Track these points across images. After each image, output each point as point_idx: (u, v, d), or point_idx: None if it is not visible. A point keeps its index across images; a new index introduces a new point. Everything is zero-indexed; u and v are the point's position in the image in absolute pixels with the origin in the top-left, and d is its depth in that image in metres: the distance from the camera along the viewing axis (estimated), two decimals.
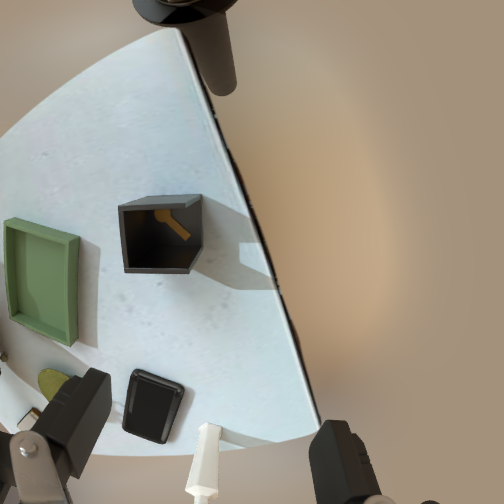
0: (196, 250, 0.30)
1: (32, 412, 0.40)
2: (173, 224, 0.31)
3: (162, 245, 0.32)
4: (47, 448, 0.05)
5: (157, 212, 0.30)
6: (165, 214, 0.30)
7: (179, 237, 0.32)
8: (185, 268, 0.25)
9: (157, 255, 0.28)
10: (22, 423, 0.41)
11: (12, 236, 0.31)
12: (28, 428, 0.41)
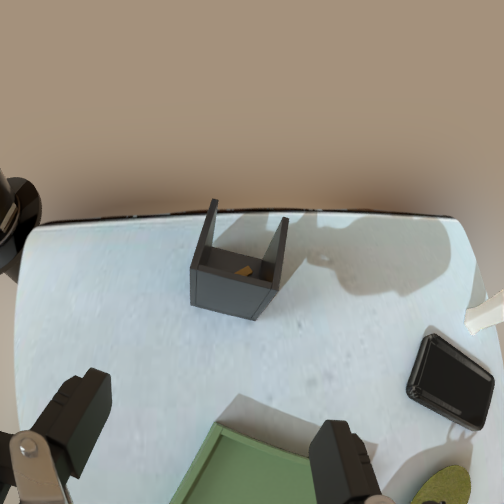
0: (265, 253, 0.27)
1: None
2: None
3: None
4: (47, 448, 0.05)
5: None
6: None
7: None
8: (282, 220, 0.23)
9: None
10: None
11: None
12: None
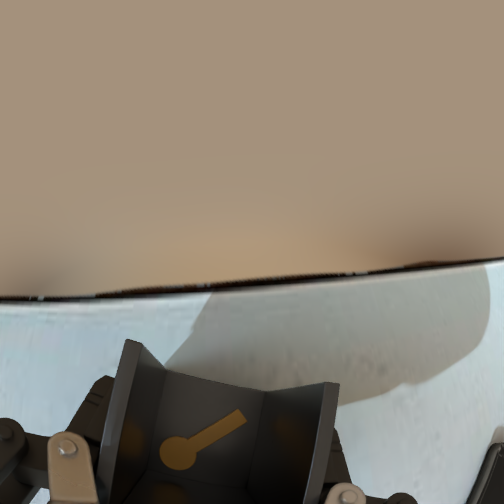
0: (273, 396, 0.12)
1: None
2: (206, 437, 0.12)
3: (248, 471, 0.12)
4: (87, 448, 0.05)
5: (172, 462, 0.11)
6: (180, 447, 0.12)
7: (238, 433, 0.13)
8: (322, 392, 0.07)
9: (268, 479, 0.09)
10: None
11: None
12: None
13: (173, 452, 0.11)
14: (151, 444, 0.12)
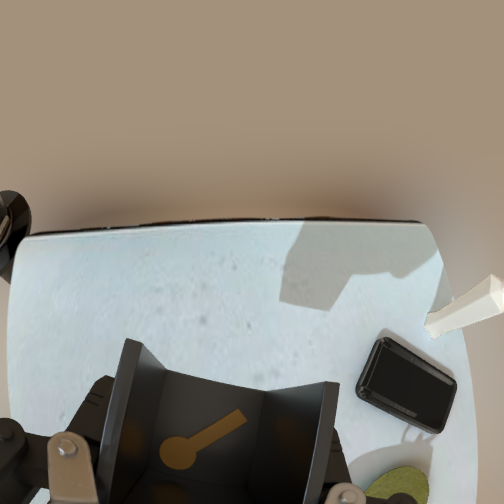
0: (273, 396, 0.12)
1: None
2: (206, 437, 0.12)
3: (248, 470, 0.12)
4: (87, 448, 0.05)
5: (172, 462, 0.11)
6: (180, 447, 0.12)
7: (238, 433, 0.13)
8: (322, 391, 0.07)
9: (268, 479, 0.09)
10: None
11: None
12: None
13: (173, 452, 0.11)
14: (151, 444, 0.12)
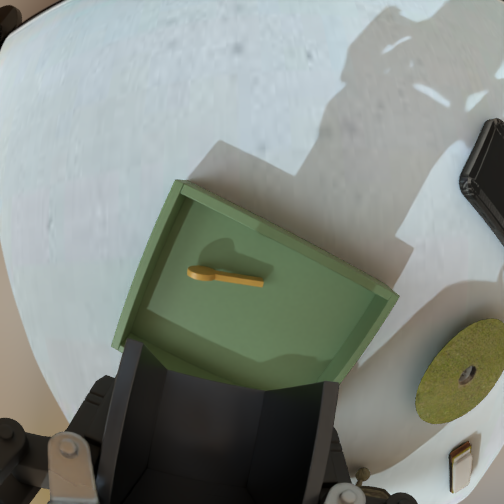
0: (272, 395, 0.12)
1: (455, 458, 0.23)
2: (229, 274, 0.18)
3: (248, 470, 0.12)
4: (88, 448, 0.05)
5: (194, 269, 0.18)
6: (207, 269, 0.18)
7: (237, 432, 0.13)
8: (322, 391, 0.08)
9: (268, 478, 0.09)
10: (457, 482, 0.23)
11: (149, 347, 0.20)
12: (467, 475, 0.23)
13: (200, 268, 0.18)
14: (151, 443, 0.12)
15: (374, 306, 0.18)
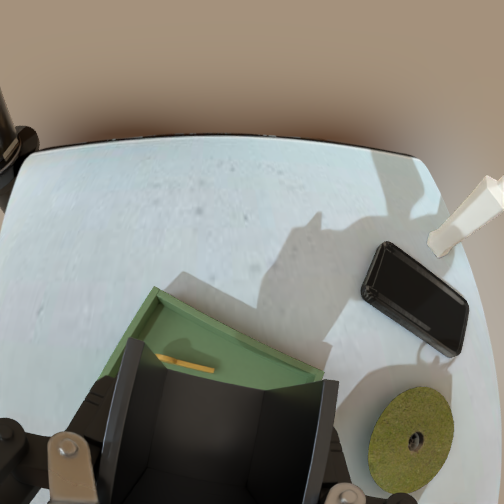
0: (272, 395, 0.12)
1: None
2: (187, 362, 0.22)
3: (248, 469, 0.12)
4: (87, 448, 0.05)
5: (160, 355, 0.21)
6: None
7: (237, 431, 0.13)
8: (322, 389, 0.08)
9: (268, 477, 0.09)
10: None
11: None
12: None
13: None
14: (151, 443, 0.12)
15: None
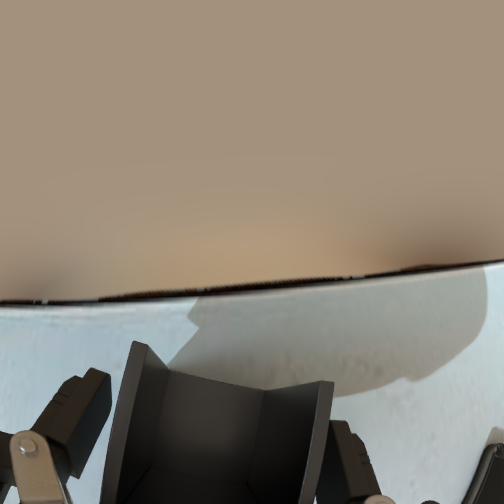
0: (272, 395, 0.13)
1: None
2: None
3: (248, 467, 0.12)
4: (47, 448, 0.05)
5: None
6: None
7: (238, 431, 0.13)
8: (318, 390, 0.08)
9: (267, 475, 0.09)
10: None
11: None
12: None
13: None
14: (155, 442, 0.12)
15: None
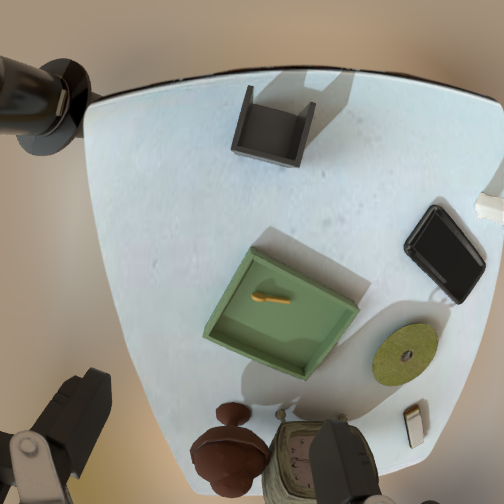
0: (299, 115, 0.28)
1: (407, 415, 0.42)
2: (273, 297, 0.35)
3: (286, 152, 0.31)
4: (47, 448, 0.05)
5: (255, 295, 0.35)
6: (261, 295, 0.35)
7: (283, 133, 0.31)
8: (309, 105, 0.23)
9: (293, 146, 0.28)
10: (412, 437, 0.43)
11: (222, 335, 0.37)
12: (420, 432, 0.43)
13: (258, 294, 0.35)
14: (244, 138, 0.31)
15: (346, 314, 0.36)
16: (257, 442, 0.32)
